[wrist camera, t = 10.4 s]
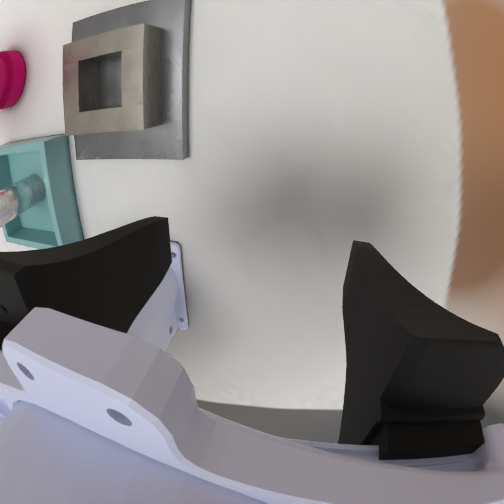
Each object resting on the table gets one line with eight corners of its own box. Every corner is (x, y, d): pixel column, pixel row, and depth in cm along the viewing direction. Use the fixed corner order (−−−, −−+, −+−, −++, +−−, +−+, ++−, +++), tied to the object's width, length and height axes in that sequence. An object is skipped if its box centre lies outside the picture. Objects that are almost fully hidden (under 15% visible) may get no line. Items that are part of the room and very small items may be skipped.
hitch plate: (188, 156, 21) (166, 168, 18) (84, 156, 23) (56, 168, 20) (191, -3, 15) (168, -16, 12) (80, 23, 17) (51, 21, 14)
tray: (83, 239, 27) (65, 254, 25) (23, 229, 29) (6, 241, 27) (67, 133, 22) (43, 141, 20) (7, 143, 24) (-14, 150, 21)
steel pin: (47, 203, 26) (-16, 244, 18) (29, 200, 26) (-30, 238, 19) (43, 174, 24) (-25, 211, 17) (25, 173, 24) (-38, 207, 17)
